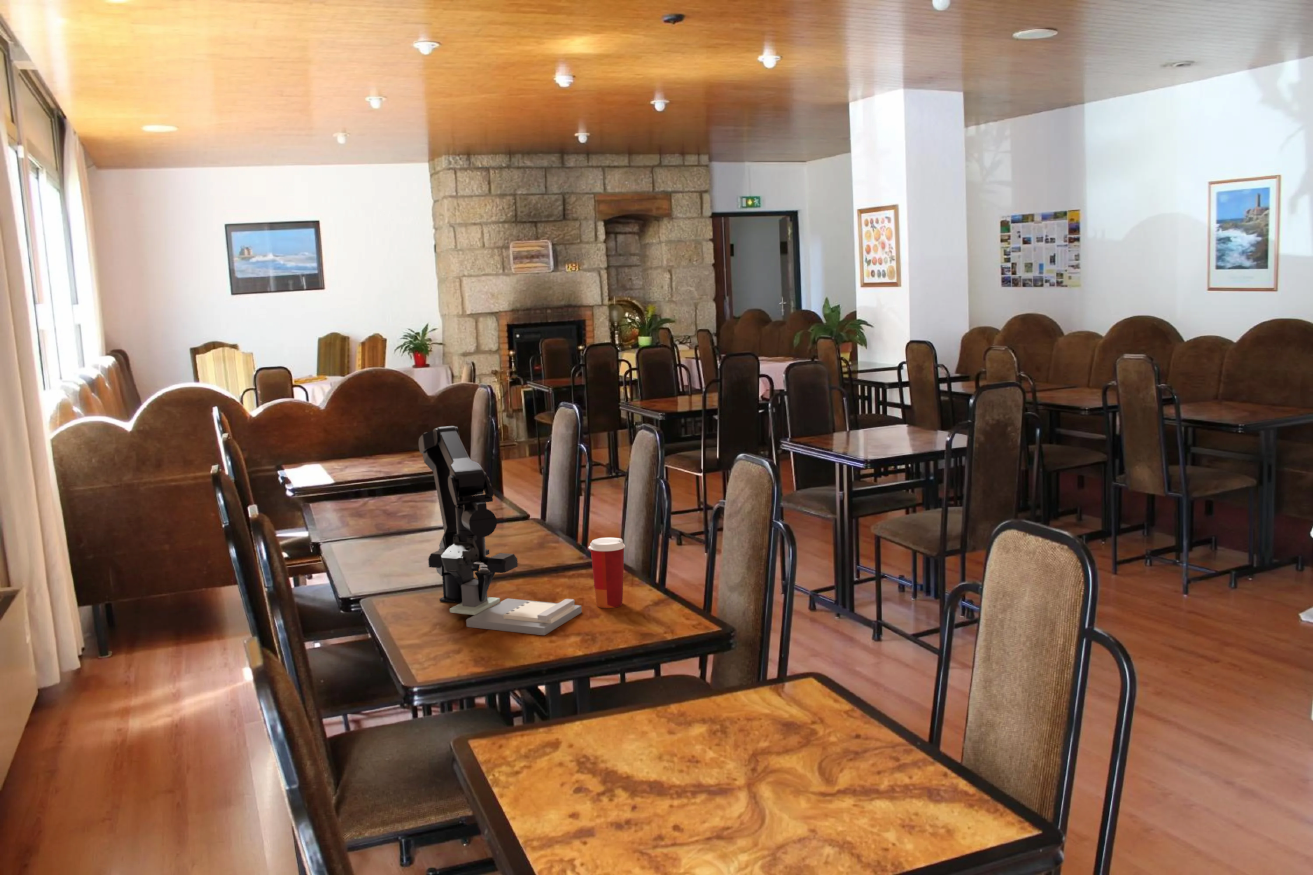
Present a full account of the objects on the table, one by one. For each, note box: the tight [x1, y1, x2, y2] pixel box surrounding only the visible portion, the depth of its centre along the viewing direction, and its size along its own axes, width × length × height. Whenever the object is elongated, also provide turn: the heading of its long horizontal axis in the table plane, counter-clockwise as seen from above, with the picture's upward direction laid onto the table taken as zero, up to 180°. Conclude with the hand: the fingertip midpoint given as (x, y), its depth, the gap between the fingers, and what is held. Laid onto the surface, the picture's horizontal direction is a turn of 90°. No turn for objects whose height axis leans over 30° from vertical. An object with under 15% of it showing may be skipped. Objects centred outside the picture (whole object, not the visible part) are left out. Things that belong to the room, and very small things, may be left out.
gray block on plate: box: [449, 578, 501, 616], centre depth 233 cm, size 6×10×5 cm, turn 157°
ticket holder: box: [465, 597, 582, 636], centre depth 228 cm, size 18×16×3 cm
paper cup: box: [588, 536, 626, 609], centre depth 236 cm, size 8×8×14 cm
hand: (474, 600), depth 233 cm, fingers closed on gray block on plate, 3 cm apart
